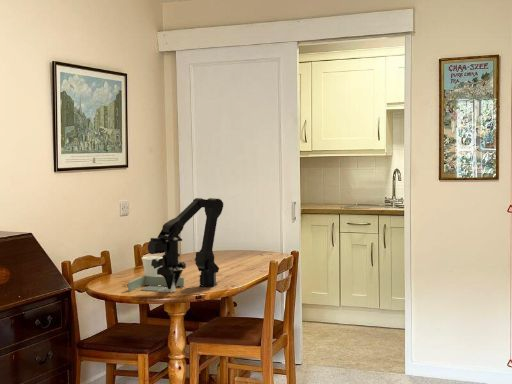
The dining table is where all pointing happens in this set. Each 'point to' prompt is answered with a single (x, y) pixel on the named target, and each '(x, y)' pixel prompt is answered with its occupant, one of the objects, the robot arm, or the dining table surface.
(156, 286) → the pad
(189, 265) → the dining table surface
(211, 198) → the robot arm
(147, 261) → the cup
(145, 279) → the corner frame
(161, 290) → the bracket
